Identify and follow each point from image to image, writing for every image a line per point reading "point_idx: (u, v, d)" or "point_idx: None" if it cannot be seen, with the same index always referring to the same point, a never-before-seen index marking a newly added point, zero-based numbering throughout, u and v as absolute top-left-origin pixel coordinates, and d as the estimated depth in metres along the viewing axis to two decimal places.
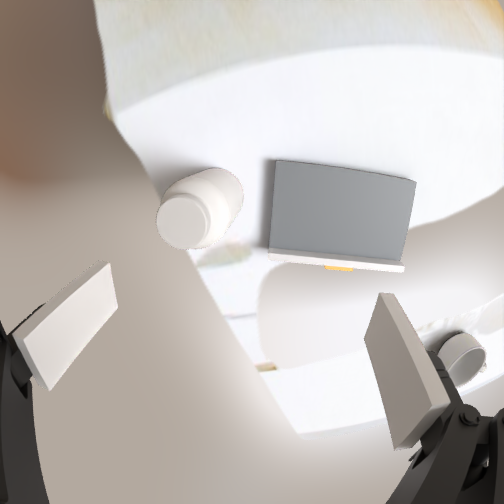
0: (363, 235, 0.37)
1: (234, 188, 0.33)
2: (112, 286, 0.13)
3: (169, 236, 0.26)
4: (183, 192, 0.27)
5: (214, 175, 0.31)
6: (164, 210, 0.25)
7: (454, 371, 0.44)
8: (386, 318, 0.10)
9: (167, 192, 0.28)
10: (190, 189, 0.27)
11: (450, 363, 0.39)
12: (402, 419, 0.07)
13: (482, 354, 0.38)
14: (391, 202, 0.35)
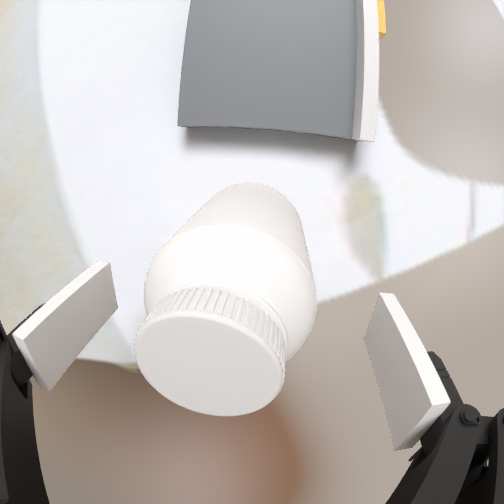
0: None
1: (210, 202, 0.16)
2: (112, 286, 0.13)
3: (242, 401, 0.09)
4: None
5: None
6: (175, 395, 0.09)
7: None
8: (386, 318, 0.10)
9: None
10: None
11: None
12: (402, 419, 0.07)
13: None
14: None
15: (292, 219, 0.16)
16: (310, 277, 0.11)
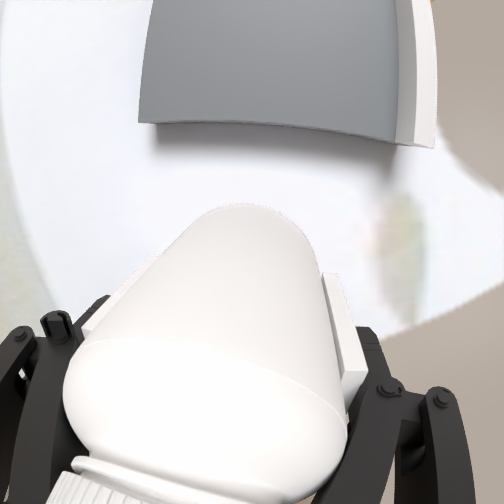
0: None
1: (175, 245, 0.10)
2: None
3: None
4: None
5: None
6: None
7: None
8: None
9: None
10: (85, 446, 0.05)
11: None
12: None
13: None
14: None
15: (309, 276, 0.09)
16: (342, 419, 0.05)
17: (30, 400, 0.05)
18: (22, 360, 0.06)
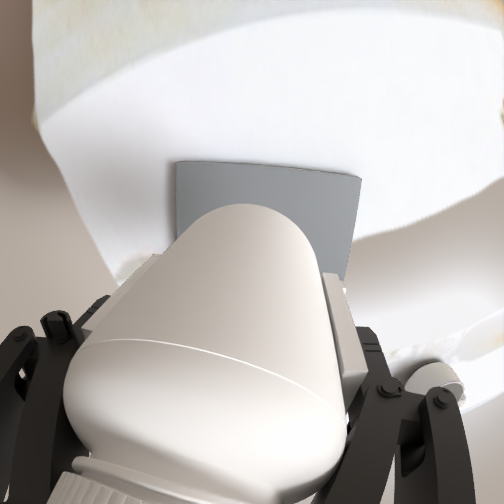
0: None
1: (175, 245, 0.10)
2: None
3: None
4: None
5: None
6: None
7: None
8: (324, 294, 0.12)
9: None
10: None
11: None
12: None
13: (459, 387, 0.32)
14: (326, 207, 0.29)
15: (309, 276, 0.09)
16: (342, 420, 0.05)
17: (30, 400, 0.05)
18: (23, 360, 0.06)
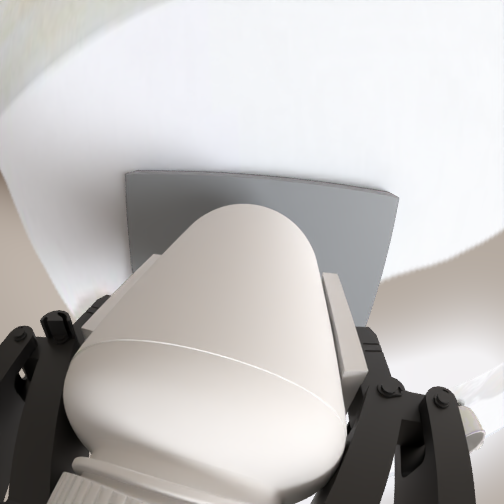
0: None
1: (175, 246, 0.10)
2: None
3: None
4: None
5: None
6: None
7: None
8: (324, 294, 0.12)
9: None
10: None
11: None
12: None
13: (479, 433, 0.23)
14: (345, 239, 0.19)
15: (309, 277, 0.09)
16: (342, 420, 0.05)
17: (30, 400, 0.05)
18: (23, 359, 0.06)
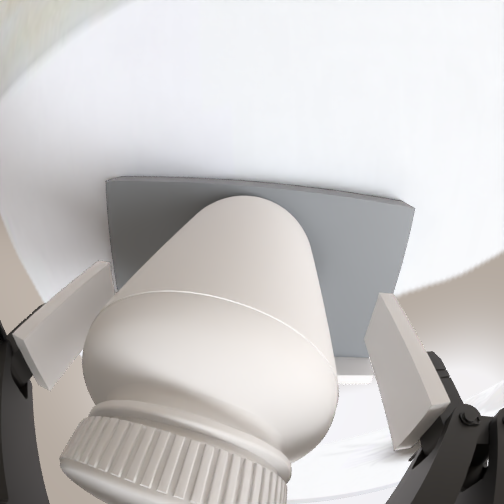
0: None
1: (182, 229, 0.11)
2: (112, 286, 0.13)
3: None
4: None
5: None
6: None
7: None
8: (386, 318, 0.10)
9: None
10: None
11: None
12: (402, 419, 0.07)
13: None
14: (353, 256, 0.17)
15: (301, 254, 0.11)
16: (331, 368, 0.06)
17: None
18: None
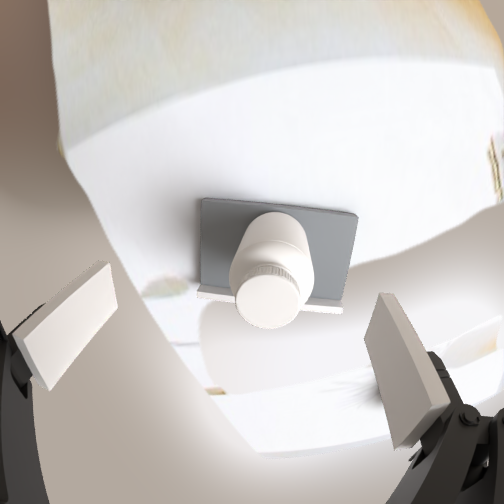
0: None
1: (256, 226, 0.30)
2: (112, 286, 0.13)
3: (282, 317, 0.22)
4: None
5: None
6: (251, 318, 0.23)
7: None
8: (386, 318, 0.10)
9: None
10: (237, 283, 0.25)
11: None
12: (402, 419, 0.07)
13: None
14: (327, 241, 0.35)
15: (301, 235, 0.29)
16: (310, 264, 0.25)
17: None
18: None
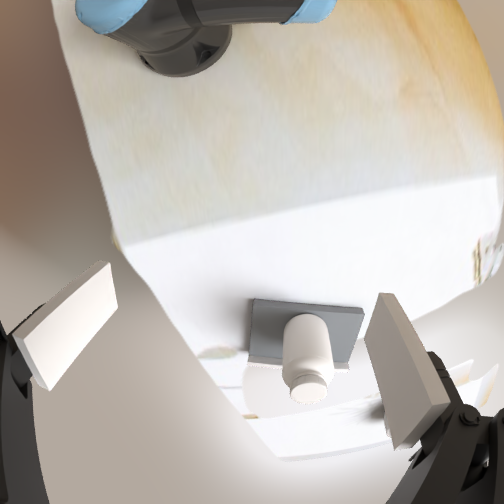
0: None
1: (297, 334, 0.42)
2: (112, 286, 0.13)
3: (316, 399, 0.35)
4: (290, 382, 0.38)
5: (285, 350, 0.42)
6: (298, 400, 0.36)
7: None
8: (386, 318, 0.10)
9: (290, 387, 0.39)
10: (289, 378, 0.38)
11: None
12: (402, 419, 0.07)
13: None
14: (341, 329, 0.48)
15: (326, 339, 0.42)
16: (333, 365, 0.37)
17: None
18: None
